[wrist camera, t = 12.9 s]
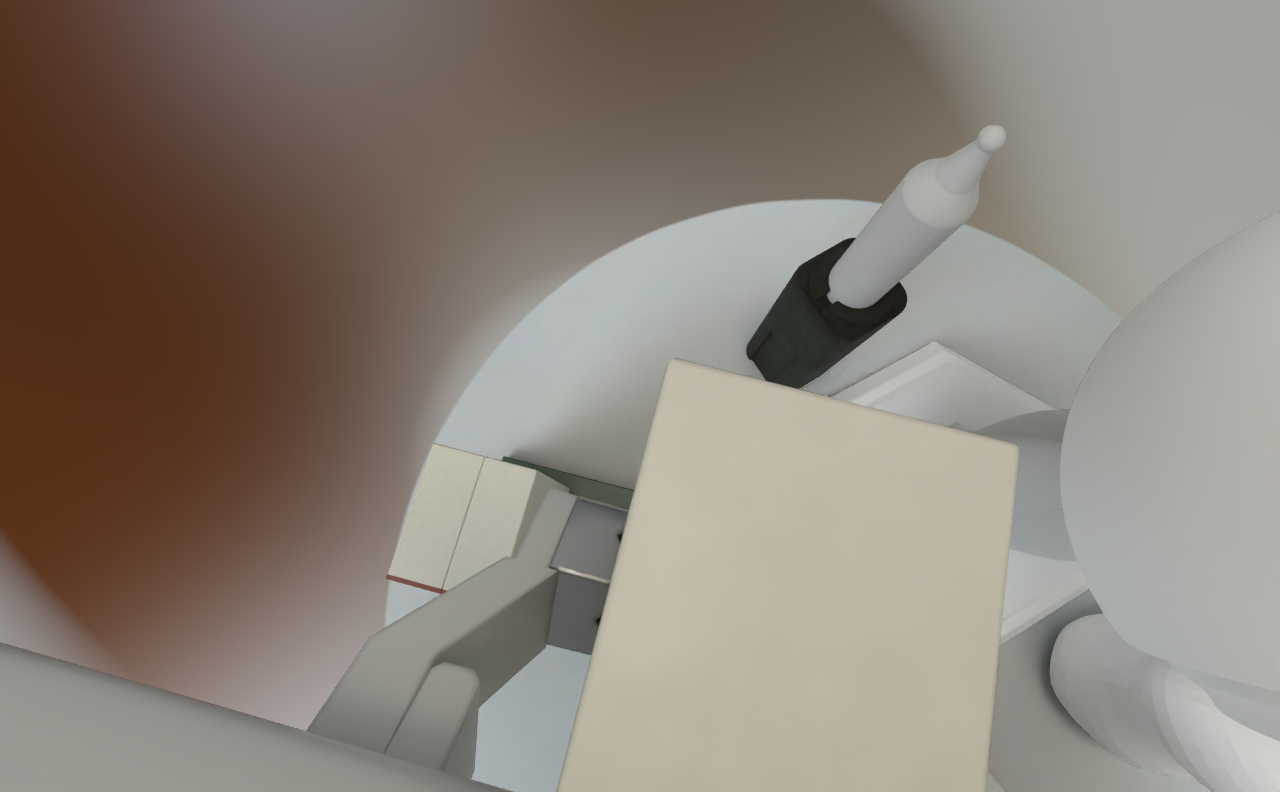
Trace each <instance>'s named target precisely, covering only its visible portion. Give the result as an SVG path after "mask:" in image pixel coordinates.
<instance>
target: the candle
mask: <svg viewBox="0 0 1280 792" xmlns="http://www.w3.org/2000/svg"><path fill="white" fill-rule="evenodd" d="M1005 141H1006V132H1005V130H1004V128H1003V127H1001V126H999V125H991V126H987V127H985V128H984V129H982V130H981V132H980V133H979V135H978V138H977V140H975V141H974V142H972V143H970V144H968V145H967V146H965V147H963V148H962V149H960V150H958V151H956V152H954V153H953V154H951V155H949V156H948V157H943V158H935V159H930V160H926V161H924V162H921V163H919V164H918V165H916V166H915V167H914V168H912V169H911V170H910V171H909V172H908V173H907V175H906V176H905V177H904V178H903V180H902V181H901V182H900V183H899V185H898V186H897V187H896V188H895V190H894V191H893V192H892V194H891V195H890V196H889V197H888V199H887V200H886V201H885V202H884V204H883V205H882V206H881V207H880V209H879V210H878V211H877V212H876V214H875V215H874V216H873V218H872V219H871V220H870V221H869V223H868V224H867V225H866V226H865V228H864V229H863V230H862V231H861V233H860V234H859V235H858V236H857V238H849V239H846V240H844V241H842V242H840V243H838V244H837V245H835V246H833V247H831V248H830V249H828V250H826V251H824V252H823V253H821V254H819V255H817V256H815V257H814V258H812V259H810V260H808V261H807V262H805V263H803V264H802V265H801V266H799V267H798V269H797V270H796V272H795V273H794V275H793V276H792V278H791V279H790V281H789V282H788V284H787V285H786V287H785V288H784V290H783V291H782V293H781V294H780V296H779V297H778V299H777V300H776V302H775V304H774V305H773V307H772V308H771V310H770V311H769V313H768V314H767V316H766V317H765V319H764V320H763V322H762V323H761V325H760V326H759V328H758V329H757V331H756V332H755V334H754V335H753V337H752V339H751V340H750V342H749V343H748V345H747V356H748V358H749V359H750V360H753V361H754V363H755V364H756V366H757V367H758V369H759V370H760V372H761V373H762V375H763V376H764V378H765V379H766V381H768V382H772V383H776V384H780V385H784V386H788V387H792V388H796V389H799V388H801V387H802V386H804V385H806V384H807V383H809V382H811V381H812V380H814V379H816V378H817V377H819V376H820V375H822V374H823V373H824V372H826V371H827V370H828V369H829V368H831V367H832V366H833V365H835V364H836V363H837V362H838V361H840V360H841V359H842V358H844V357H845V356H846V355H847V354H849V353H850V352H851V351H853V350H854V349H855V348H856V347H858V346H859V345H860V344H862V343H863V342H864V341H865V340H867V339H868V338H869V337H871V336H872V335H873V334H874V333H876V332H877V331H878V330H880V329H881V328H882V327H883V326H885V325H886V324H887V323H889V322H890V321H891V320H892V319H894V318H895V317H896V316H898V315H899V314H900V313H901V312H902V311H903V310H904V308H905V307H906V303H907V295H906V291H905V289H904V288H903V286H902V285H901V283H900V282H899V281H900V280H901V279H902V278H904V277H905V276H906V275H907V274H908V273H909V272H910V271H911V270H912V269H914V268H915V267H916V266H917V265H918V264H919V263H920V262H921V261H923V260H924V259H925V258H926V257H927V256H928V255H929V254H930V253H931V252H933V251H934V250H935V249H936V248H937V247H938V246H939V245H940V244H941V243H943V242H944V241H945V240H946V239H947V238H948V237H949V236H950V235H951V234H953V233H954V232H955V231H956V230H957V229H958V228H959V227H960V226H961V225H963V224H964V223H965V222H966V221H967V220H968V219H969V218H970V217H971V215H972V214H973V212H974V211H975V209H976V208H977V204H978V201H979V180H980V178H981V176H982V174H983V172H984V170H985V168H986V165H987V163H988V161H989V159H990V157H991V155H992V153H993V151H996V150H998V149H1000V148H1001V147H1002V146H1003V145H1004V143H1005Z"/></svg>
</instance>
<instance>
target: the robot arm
mask: <svg viewBox="0 0 1280 792" xmlns="http://www.w3.org/2000/svg"><path fill="white" fill-rule="evenodd" d="M628 512H629V510H627V509H624V508H620V507H617V506H613V505H610V504H607V503H603V502H600V501H596V500H593V499H589V498H586V497H583V496H576V495H573V494H570V493H566V492H563V491H560V490H556V489H553V488H550V489H549V490H548V492H547V493H546V494H545V496H544V498H543V500H542V502H541V504H540V507H539V509H538V511H537V513H536V515H535V517H534V519H533V521H532V523H531V525H530V527H529V530H528V532H527V534H526V536H525V538H524V540H523V542H522V544H521V546H520V548H519V550H518V553H517V555H516V557H515V558H511V557H507V556H505V557H504V558H502V559H500V560H499V561H497V562H495V563H494V564H492V565H490V566H489V567H487V568H485V569H483V570H482V571H480V572H478V573H477V574H475V575H473V576H472V577H470V578H468V579H467V580H465V581H463V582H461V583H460V584H458V585H456V586H455V587H453V588H451V589H450V590H448V591H446V592H445V593H443V594H441V595H439V596H438V597H436V598H434V599H433V600H431V601H429V602H428V603H426V604H424V605H423V606H421V607H419V608H417V609H416V610H414V611H412V612H411V613H409V614H407V615H406V616H404V617H402V618H401V619H399V620H397V621H395V622H394V623H392V624H390V625H389V626H387V627H385V628H384V629H382V630H380V631H379V632H377V633H375V634H374V635H372V636H370V637H369V639H368V640H367V642H366V643H365V644H364V646H363V647H362V649H361V650H360V652H359V653H358V655H357V656H356V658H355V659H354V661H353V662H352V664H351V665H350V667H349V668H348V670H347V671H346V673H345V674H344V676H343V677H342V679H341V680H340V681H339V683H338V685H337V686H336V687H335V689H334V691H333V692H332V693H331V695H330V696H329V698H328V700H327V701H326V702H325V704H324V705H323V707H322V708H321V710H320V711H319V713H318V714H317V716H316V717H315V719H314V720H313V722H312V723H311V725H310V726H309V728H308V729H307V731H303V730H300V729H297V728H293V727H290V726H286V725H283V724H280V723H276V722H273V721H269V720H266V719H262V718H258V717H256V716H252V715H249V714H245V713H242V712H238V711H235V710H232V709H228V708H225V707H221V706H218V705H214V704H211V703H207V702H204V701H200V700H197V699H194V698H190V697H187V696H183V695H180V694H177V693H173V692H170V691H166V690H163V689H159V688H156V687H153V686H149V685H145V684H142V683H139V682H135V681H132V680H128V679H125V678H122V677H118V676H114V675H111V674H108V673H104V672H101V671H98V670H94V669H91V668H87V667H84V666H80V665H77V664H73V663H70V662H67V661H63V660H60V659H56V658H53V657H49V656H46V655H43V654H39V653H35V652H32V651H29V650H25V649H22V648H19V647H15V646H12V645H8V644H4V643H2V642H0V792H513V791H510V790H506V789H503V788H499V787H496V786H492V785H489V784H486V783H482V782H479V781H475V780H472V779H471V778H472V775H473V773H474V769H475V754H476V739H477V724H478V709H479V707H480V706H481V705H482V704H483V703H484V702H485V701H487V700H488V699H489V698H490V697H491V696H492V695H493V694H494V693H495V692H497V691H498V690H499V689H500V688H501V687H502V686H503V685H504V684H505V683H507V682H508V681H509V680H510V679H511V678H512V677H513V676H514V675H515V674H517V673H518V672H519V671H520V670H521V669H522V668H523V667H524V666H525V665H527V664H528V663H529V662H530V661H531V660H532V659H533V658H534V657H535V656H537V655H538V654H539V653H540V652H541V651H542V650H543V649H544V648H545V647H546V644H548V645H552V646H556V647H560V648H564V649H568V650H572V651H576V652H580V653H584V654H588V655H592V651H593V648H594V644H595V640H596V636H597V632H598V628H599V624H600V620H601V617H602V613H603V609H604V605H605V601H606V597H607V593H608V590H609V586H610V582H611V578H612V574H613V570H614V566H615V563H616V559H617V555H618V551H619V547H620V543H621V539H622V536H623V532H624V528H625V524H626V520H627V516H628ZM985 792H1006V790H1005V789H1004V788H1003V787H1002V785H1001V784H1000V783H999V782H998V781H997V779H996V778H995V777H994V776H993V775H992V773H991V772H990V771H989V770H988V769H987V779H986V789H985Z"/></svg>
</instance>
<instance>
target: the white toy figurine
mask: <svg viewBox="0 0 1280 792" xmlns="http://www.w3.org/2000/svg"><path fill="white" fill-rule="evenodd" d="M831 398H835V399H839V400H843V401H847V402H851V403H855V404H859V405H863V406H867V407H871V408H875V409H879V410H883V411H887V412H891V413H895V414H899V415H902V416H906V417H910V418H914V419H918V420H922V421H926V422H930V423H934V424H938V425H942V426H946V427H950V428H954V429H958V430H962V431H966V432H970V433H974V434H978V435H982V436H986V437H989V438H993V439H997V440H1001V441H1005V442H1009V443H1012V444H1014V445H1016V446H1018V449H1019V460H1018V470H1017V480H1016V490H1015V500H1014V510H1013V520H1012V530H1011V540H1010V550H1009V559H1008V569H1007V579H1006V589H1005V599H1004V609H1003V619H1002V629H1001V639H1000V645H1001V644H1003V643H1005V642H1006V641H1008V640H1009V639H1011V638H1012V637H1014V636H1016V635H1017V634H1019V633H1020V632H1022V631H1023V630H1025V629H1027V628H1028V627H1030V626H1031V625H1033V624H1035V623H1036V622H1038V621H1039V620H1041V619H1042V618H1044V617H1046V616H1047V615H1049V614H1050V613H1052V612H1053V611H1055V610H1057V609H1058V608H1060V607H1061V606H1063V605H1064V604H1066V603H1068V602H1069V601H1071V600H1072V599H1074V598H1075V597H1077V596H1079V595H1080V594H1082V593H1083V592H1085V591H1087V590H1088V589H1090V590H1091V592H1092V594H1093V596H1094V598H1095V600H1096V601H1097V603H1098V605H1099V607H1100V608H1101V610H1102V612H1103V613H1104V615H1105V616H1106V618H1107V619H1108V621H1109V622H1110V623H1111V625H1112V626H1113V627H1114V629H1115V630H1116V631H1117V632H1118V634H1119V635H1120V636H1121V637H1122V638H1123V639H1124V640H1125V641H1126V642H1127V643H1128V644H1130V645H1131V646H1133V647H1135V648H1136V649H1138V650H1141V651H1143V652H1145V653H1147V654H1150V655H1152V656H1155V657H1158V658H1160V659H1163V660H1166V661H1169V664H1170V666H1171V667H1172V669H1174V670H1175V671H1176V672H1177V673H1179V674H1180V675H1182V676H1184V677H1186V678H1187V679H1189V680H1191V681H1192V682H1194V683H1195V684H1197V685H1198V686H1200V687H1201V688H1202V689H1203V690H1204V691H1205V692H1206V693H1207V694H1208V695H1209V697H1210V698H1211V700H1212V701H1213V703H1214V704H1215V706H1216V707H1217V708H1218V709H1219V710H1220V711H1221V712H1222V713H1223V714H1225V715H1226V716H1228V717H1229V718H1231V719H1232V720H1234V721H1236V722H1238V723H1239V724H1241V725H1243V726H1245V727H1247V728H1249V729H1251V730H1254V731H1256V732H1258V733H1260V734H1262V735H1265V736H1267V737H1269V738H1272V739H1274V740H1277V741H1279V742H1280V212H1278V213H1276V214H1273V215H1271V216H1269V217H1267V218H1265V219H1263V220H1261V221H1259V222H1257V223H1255V224H1253V225H1252V226H1249V227H1248V228H1246V229H1244V230H1242V231H1240V232H1238V233H1237V234H1235V235H1233V236H1231V237H1229V238H1228V239H1226V240H1224V241H1223V242H1221V243H1219V244H1218V245H1216V246H1214V247H1213V248H1211V249H1209V250H1208V251H1206V252H1205V253H1203V254H1202V255H1200V256H1199V257H1197V258H1196V259H1194V260H1193V261H1192V262H1190V263H1189V264H1187V265H1186V266H1185V267H1183V268H1182V269H1180V270H1179V271H1178V272H1176V273H1175V274H1173V275H1172V276H1171V277H1170V278H1168V279H1167V280H1166V281H1165V282H1163V283H1162V284H1161V285H1160V286H1159V287H1157V288H1156V289H1155V290H1154V291H1153V292H1152V293H1151V294H1149V295H1148V296H1147V297H1146V298H1145V299H1144V300H1143V301H1142V302H1141V303H1140V304H1139V305H1138V306H1137V307H1136V308H1135V309H1134V310H1133V311H1132V312H1131V313H1130V314H1129V315H1128V316H1127V317H1126V318H1125V319H1124V320H1123V321H1122V323H1121V324H1120V325H1119V326H1118V327H1117V328H1116V330H1115V331H1114V332H1113V333H1112V334H1111V336H1110V337H1109V338H1108V340H1107V341H1106V342H1105V344H1104V345H1103V346H1102V348H1101V349H1100V351H1099V352H1098V354H1097V355H1096V357H1095V358H1094V360H1093V362H1092V363H1091V365H1090V367H1089V368H1088V370H1087V372H1086V374H1085V376H1084V378H1083V380H1082V382H1081V384H1080V386H1079V388H1078V391H1077V393H1076V395H1075V398H1074V400H1073V403H1072V406H1071V409H1060V410H1056V409H1054V408H1052V407H1051V406H1049V405H1047V404H1045V403H1043V402H1042V401H1040V400H1038V399H1036V398H1035V397H1033V396H1031V395H1029V394H1028V393H1026V392H1024V391H1022V390H1020V389H1019V388H1017V387H1015V386H1013V385H1012V384H1010V383H1008V382H1006V381H1004V380H1003V379H1001V378H999V377H997V376H996V375H994V374H992V373H990V372H988V371H987V370H985V369H983V368H981V367H980V366H978V365H976V364H974V363H973V362H971V361H969V360H967V359H965V358H964V357H962V356H960V355H958V354H957V353H955V352H953V351H951V350H949V349H948V348H946V347H944V346H942V345H941V344H939V343H937V342H932V343H930V344H928V345H926V346H925V347H923V348H921V349H919V350H917V351H915V352H913V353H912V354H910V355H908V356H906V357H904V358H902V359H901V360H899V361H897V362H895V363H893V364H891V365H889V366H888V367H886V368H884V369H882V370H880V371H878V372H877V373H875V374H873V375H871V376H869V377H867V378H865V379H864V380H862V381H860V382H858V383H856V384H854V385H852V386H851V387H849V388H847V389H845V390H843V391H841V392H840V393H838V394H836V395H834V396H832V397H831Z"/></svg>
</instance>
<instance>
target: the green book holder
mask: <svg viewBox="0 0 1280 792" xmlns="http://www.w3.org/2000/svg"><path fill="white" fill-rule="evenodd" d="M550 488H553V489H556V490H560V491H563V492H566V493H570V494H573V495H576V496H583V497H586V498H589V499H593V500H596V501H600V502H603V503H607V504H610V505H613V506H617V507H620V508H624V509H627V510H629V509H630V505H631V501H632V497H633V493H634V490H630V489H626V488H622V487H619V486H615V485H611V484H607V483H603V482H600V481H596V480H592V479H588V478H584V477H580V476H577V475H573V474H569V473H565V472H561V471H558V470H554V469H550V468H546V467H542V466H539V465H535V464H531V463H527V462H523V461H520V460H516V459H512V458H508V457H503V459H502V461H500V460H497V459H493V458H489V457H485V456H481V455H478V454H474V453H470V452H466V451H462V450H459V449H455V448H451V447H447V446H443V445H440V444H436V443H434V444H433V446H432V449H431V452H430V455H429V457H428V460H427V463H426V466H425V469H424V472H423V475H422V478H421V481H420V483H419V486H418V489H417V492H416V495H415V498H414V501H413V504H412V506H411V509H410V512H409V515H408V518H407V521H406V524H405V527H404V530H403V532H402V535H401V538H400V541H399V544H398V547H397V550H396V553H395V555H394V558H393V561H392V564H391V567H390V570H389V573H388V575H387V577H386V579H389V580H392V581H396V582H400V583H403V584H407V585H411V586H414V587H418V588H422V589H425V590H429V591H432V592H436V593H440V594H443V593H445V592H446V591H448V590H450V589H451V588H453V587H455V586H456V585H458V584H460V583H461V582H463V581H465V580H467V579H468V578H470V577H472V576H473V575H475V574H477V573H478V572H480V571H482V570H483V569H485V568H487V567H489V566H490V565H492V564H494V563H495V562H497V561H499V560H500V559H502V558H504V557H505V556H507V557H511V558H515V557H516V555H517V553H518V550H519V548H520V546H521V544H522V542H523V540H524V538H525V536H526V534H527V532H528V530H529V527H530V525H531V523H532V521H533V519H534V517H535V515H536V513H537V511H538V509H539V507H540V504H541V502H542V500H543V498H544V496H545V494H546V493H547V492H548V490H549V489H550Z"/></svg>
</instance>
